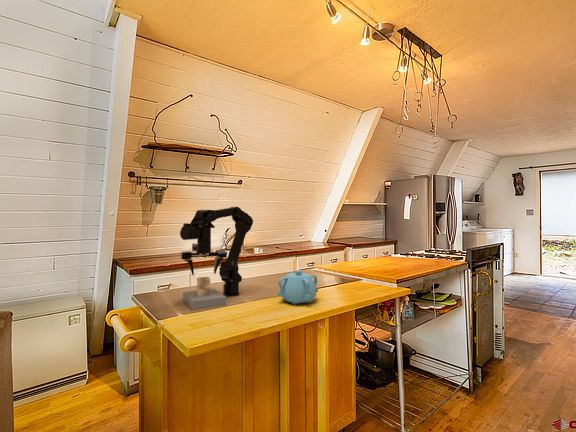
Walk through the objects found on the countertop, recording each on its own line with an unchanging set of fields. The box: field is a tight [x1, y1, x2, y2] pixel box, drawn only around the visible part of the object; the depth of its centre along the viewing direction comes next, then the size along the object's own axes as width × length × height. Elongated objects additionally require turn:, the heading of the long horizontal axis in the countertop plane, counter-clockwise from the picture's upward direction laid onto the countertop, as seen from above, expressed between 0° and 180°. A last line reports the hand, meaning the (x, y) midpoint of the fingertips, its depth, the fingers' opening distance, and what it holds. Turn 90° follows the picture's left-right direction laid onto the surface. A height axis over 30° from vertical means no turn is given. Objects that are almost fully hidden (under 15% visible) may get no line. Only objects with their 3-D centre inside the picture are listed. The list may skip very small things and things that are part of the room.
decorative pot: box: [277, 269, 319, 305], centre depth 140 cm, size 16×16×14 cm
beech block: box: [196, 276, 211, 296], centre depth 137 cm, size 5×5×7 cm
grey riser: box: [182, 287, 227, 311], centre depth 137 cm, size 14×18×4 cm
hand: (203, 274), depth 137 cm, fingers open, 9 cm apart
